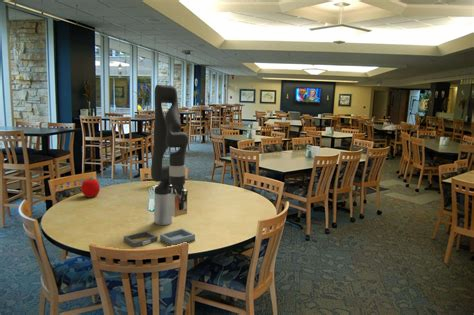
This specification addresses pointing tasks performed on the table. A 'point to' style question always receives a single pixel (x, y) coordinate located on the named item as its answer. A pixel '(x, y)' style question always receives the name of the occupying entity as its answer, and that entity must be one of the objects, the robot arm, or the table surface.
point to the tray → (177, 237)
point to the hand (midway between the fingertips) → (177, 208)
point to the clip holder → (141, 242)
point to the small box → (175, 205)
